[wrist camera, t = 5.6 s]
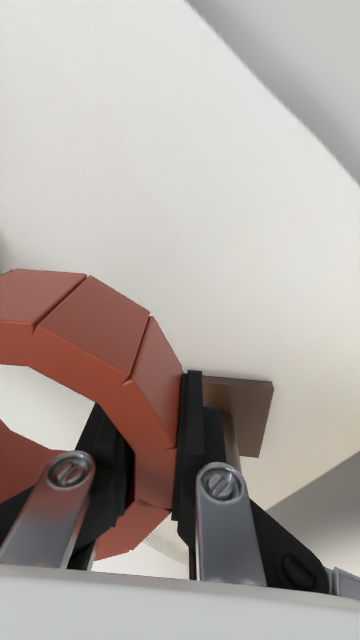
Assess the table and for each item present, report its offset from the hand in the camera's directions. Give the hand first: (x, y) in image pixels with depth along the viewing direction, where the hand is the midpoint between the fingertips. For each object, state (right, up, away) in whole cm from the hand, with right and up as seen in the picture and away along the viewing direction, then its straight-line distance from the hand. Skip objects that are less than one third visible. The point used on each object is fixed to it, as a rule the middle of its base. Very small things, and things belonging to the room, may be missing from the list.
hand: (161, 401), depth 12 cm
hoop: (-4, +1, +1) cm, 4 cm away
